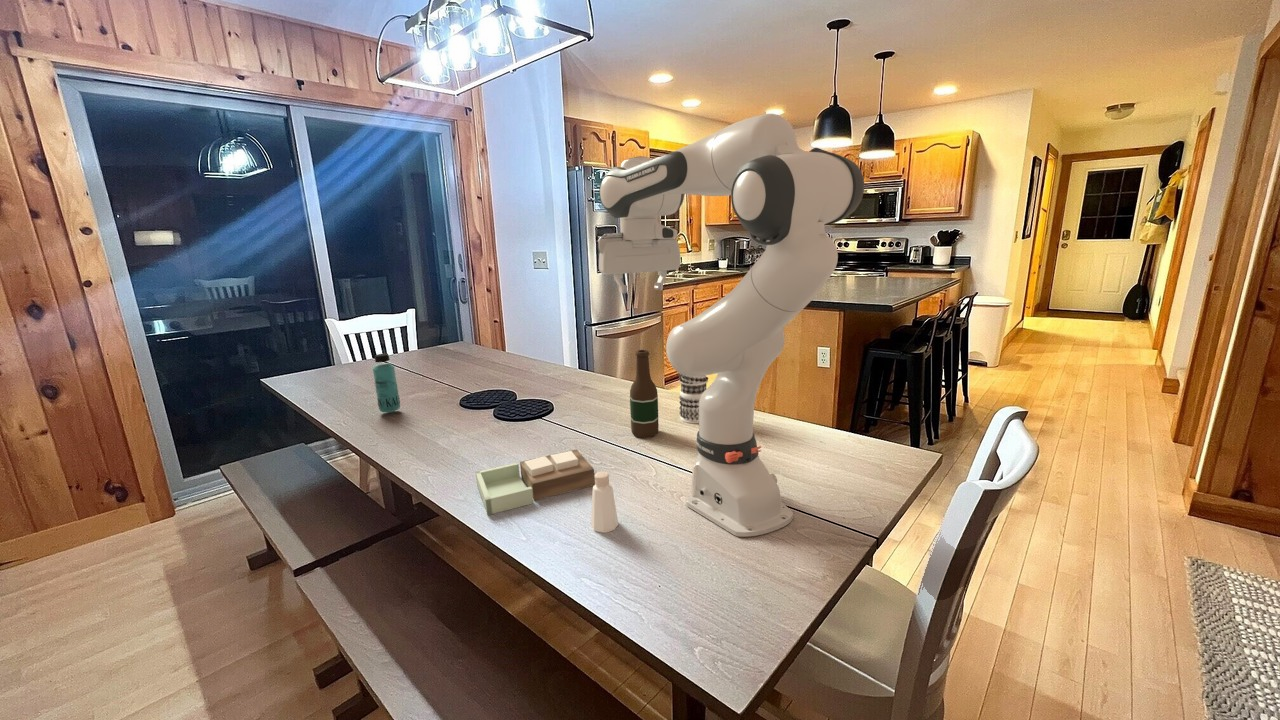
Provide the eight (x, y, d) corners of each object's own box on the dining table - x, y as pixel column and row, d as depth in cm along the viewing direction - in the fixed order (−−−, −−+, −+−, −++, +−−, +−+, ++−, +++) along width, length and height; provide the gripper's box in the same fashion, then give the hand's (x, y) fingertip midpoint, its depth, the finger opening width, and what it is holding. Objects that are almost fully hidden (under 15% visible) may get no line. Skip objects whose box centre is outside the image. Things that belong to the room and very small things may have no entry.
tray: (533, 503, 108) (532, 488, 107) (487, 515, 104) (485, 499, 103) (518, 476, 120) (517, 462, 119) (477, 485, 116) (475, 471, 115)
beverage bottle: (381, 411, 168) (371, 353, 163) (403, 408, 170) (394, 351, 165) (378, 418, 162) (367, 357, 157) (400, 415, 164) (390, 355, 159)
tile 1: (553, 470, 114) (552, 464, 113) (532, 476, 111) (531, 470, 111) (545, 462, 118) (545, 456, 117) (524, 468, 115) (524, 461, 115)
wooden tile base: (594, 485, 115) (593, 469, 114) (534, 500, 109) (532, 483, 108) (577, 464, 125) (576, 449, 124) (521, 477, 119) (519, 461, 118)
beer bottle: (659, 428, 146) (657, 347, 140) (657, 439, 138) (655, 354, 132) (632, 428, 147) (629, 347, 141) (629, 438, 139) (626, 354, 133)
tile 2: (578, 465, 116) (577, 458, 115) (557, 470, 114) (556, 463, 113) (571, 456, 120) (571, 450, 120) (551, 461, 118) (550, 455, 118)
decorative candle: (714, 415, 154) (714, 335, 148) (701, 425, 146) (701, 341, 140) (686, 411, 159) (686, 333, 152) (673, 420, 151) (672, 339, 145)
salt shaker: (585, 525, 99) (581, 474, 96) (606, 514, 103) (603, 465, 100) (603, 536, 95) (600, 484, 93) (624, 524, 99) (621, 473, 96)
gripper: (602, 233, 111) (605, 296, 115) (683, 230, 120) (684, 289, 123) (592, 234, 117) (596, 293, 120) (670, 231, 125) (671, 287, 129)
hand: (641, 291), depth 122 cm, fingers open, 8 cm apart
